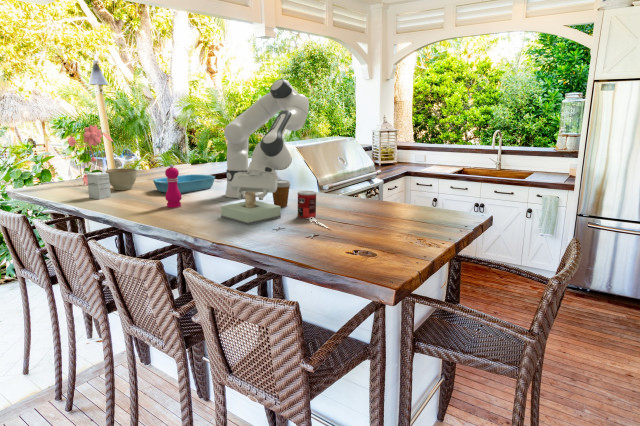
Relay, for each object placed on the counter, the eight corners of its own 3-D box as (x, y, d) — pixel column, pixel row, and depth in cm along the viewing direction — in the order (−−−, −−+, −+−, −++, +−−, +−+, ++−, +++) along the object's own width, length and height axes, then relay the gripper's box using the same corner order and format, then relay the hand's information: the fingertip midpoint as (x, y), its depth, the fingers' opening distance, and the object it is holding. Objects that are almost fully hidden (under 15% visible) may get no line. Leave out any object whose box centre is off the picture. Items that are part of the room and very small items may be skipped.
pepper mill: (177, 208, 199) (174, 165, 194) (162, 207, 200) (160, 164, 196) (184, 205, 206) (182, 163, 201) (171, 204, 207) (168, 163, 202)
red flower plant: (69, 186, 248) (62, 124, 240) (108, 180, 271) (104, 124, 262) (86, 189, 242) (80, 126, 233) (125, 183, 264) (121, 125, 256)
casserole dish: (196, 183, 267) (195, 172, 265) (222, 187, 256) (222, 175, 254) (145, 192, 236) (144, 179, 235) (173, 197, 225) (172, 183, 224)
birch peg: (251, 213, 187) (250, 190, 185) (258, 215, 185) (257, 192, 182) (243, 215, 184) (242, 192, 182) (250, 217, 181) (249, 193, 179)
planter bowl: (131, 192, 236) (129, 172, 233) (101, 191, 236) (99, 171, 233) (143, 186, 251) (141, 168, 249) (115, 186, 252) (113, 167, 249)
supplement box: (88, 198, 218) (85, 173, 215) (100, 195, 224) (98, 171, 221) (99, 199, 215) (96, 174, 212) (111, 197, 222) (109, 172, 219)
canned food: (297, 214, 191) (297, 190, 188) (315, 214, 192) (315, 190, 189) (297, 219, 184) (298, 193, 181) (316, 219, 184) (316, 193, 182)
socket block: (253, 210, 197) (253, 200, 196) (280, 217, 186) (280, 206, 184) (221, 217, 184) (220, 206, 183) (247, 225, 172) (247, 213, 171)
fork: (332, 235, 164) (332, 230, 163) (307, 221, 180) (307, 217, 180) (339, 233, 165) (339, 229, 165) (314, 220, 182) (314, 216, 182)
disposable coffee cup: (266, 205, 208) (266, 181, 205) (281, 203, 215) (281, 179, 212) (279, 209, 202) (279, 183, 199) (294, 206, 208) (294, 181, 206)
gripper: (233, 167, 189) (224, 193, 182) (277, 169, 185) (271, 195, 178) (237, 175, 194) (229, 201, 187) (280, 178, 190) (274, 204, 183)
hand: (250, 198), depth 182 cm, fingers open, 8 cm apart
